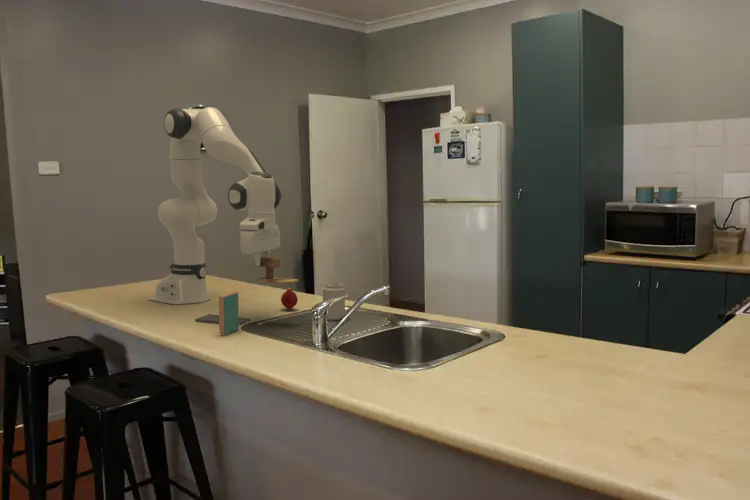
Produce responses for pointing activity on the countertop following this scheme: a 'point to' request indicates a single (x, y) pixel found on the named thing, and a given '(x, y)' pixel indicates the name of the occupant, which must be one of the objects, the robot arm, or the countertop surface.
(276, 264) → the wooden trowel
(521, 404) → the countertop surface
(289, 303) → the onion
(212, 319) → the mat
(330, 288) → the can
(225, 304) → the tile
